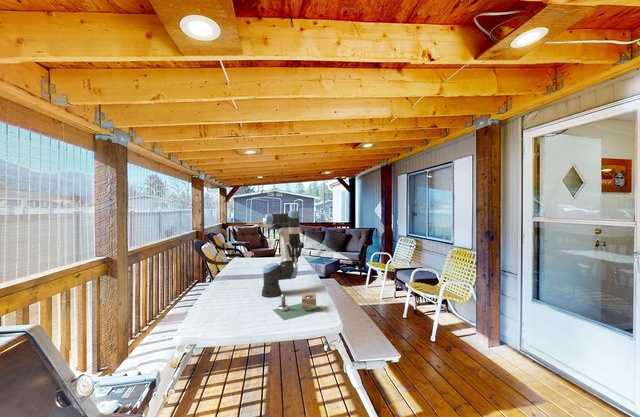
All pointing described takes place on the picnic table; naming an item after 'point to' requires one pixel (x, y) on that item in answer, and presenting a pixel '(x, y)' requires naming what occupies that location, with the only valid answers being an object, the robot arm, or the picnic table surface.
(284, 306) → the stand
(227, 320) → the picnic table surface
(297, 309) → the mat
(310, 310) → the hub
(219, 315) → the picnic table surface
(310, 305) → the square wooden frame
